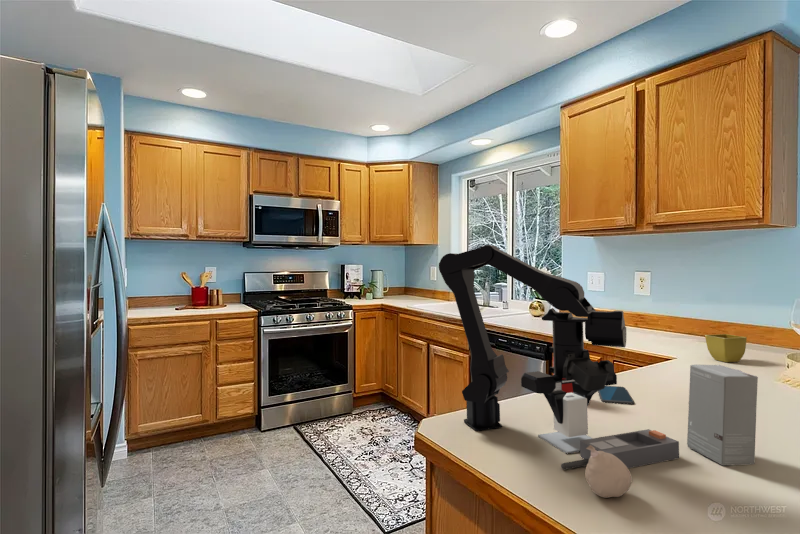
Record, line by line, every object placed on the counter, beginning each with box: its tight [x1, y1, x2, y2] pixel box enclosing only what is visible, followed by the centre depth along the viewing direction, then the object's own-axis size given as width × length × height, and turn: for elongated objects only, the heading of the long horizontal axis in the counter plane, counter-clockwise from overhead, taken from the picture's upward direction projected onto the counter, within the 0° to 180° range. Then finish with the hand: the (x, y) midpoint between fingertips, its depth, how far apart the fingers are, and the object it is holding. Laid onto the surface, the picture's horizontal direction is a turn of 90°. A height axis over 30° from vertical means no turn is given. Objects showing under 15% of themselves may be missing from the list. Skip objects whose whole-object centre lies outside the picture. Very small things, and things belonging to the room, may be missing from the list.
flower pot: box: [704, 333, 748, 363], centre depth 152 cm, size 9×9×9 cm
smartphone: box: [597, 385, 635, 406], centre depth 115 cm, size 8×15×1 cm, turn 160°
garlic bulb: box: [584, 445, 633, 499], centre depth 65 cm, size 7×6×8 cm
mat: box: [537, 431, 593, 455], centre depth 85 cm, size 9×9×1 cm
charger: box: [553, 392, 589, 437], centre depth 85 cm, size 4×4×7 cm
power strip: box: [560, 428, 680, 470], centre depth 77 cm, size 22×6×4 cm, turn 107°
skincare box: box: [686, 364, 759, 466], centre depth 77 cm, size 8×7×16 cm
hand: (570, 421), depth 85 cm, fingers closed on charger, 4 cm apart
